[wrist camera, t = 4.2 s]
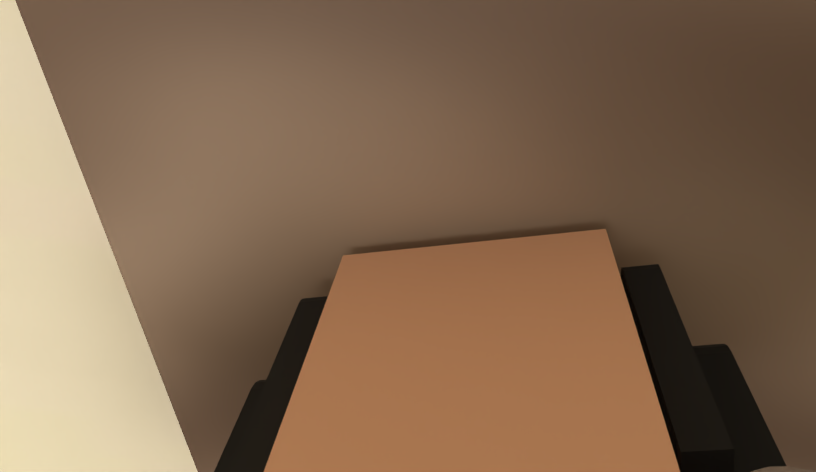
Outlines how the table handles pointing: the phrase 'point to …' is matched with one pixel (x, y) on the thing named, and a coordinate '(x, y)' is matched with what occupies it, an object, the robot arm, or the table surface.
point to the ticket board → (442, 163)
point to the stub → (477, 365)
